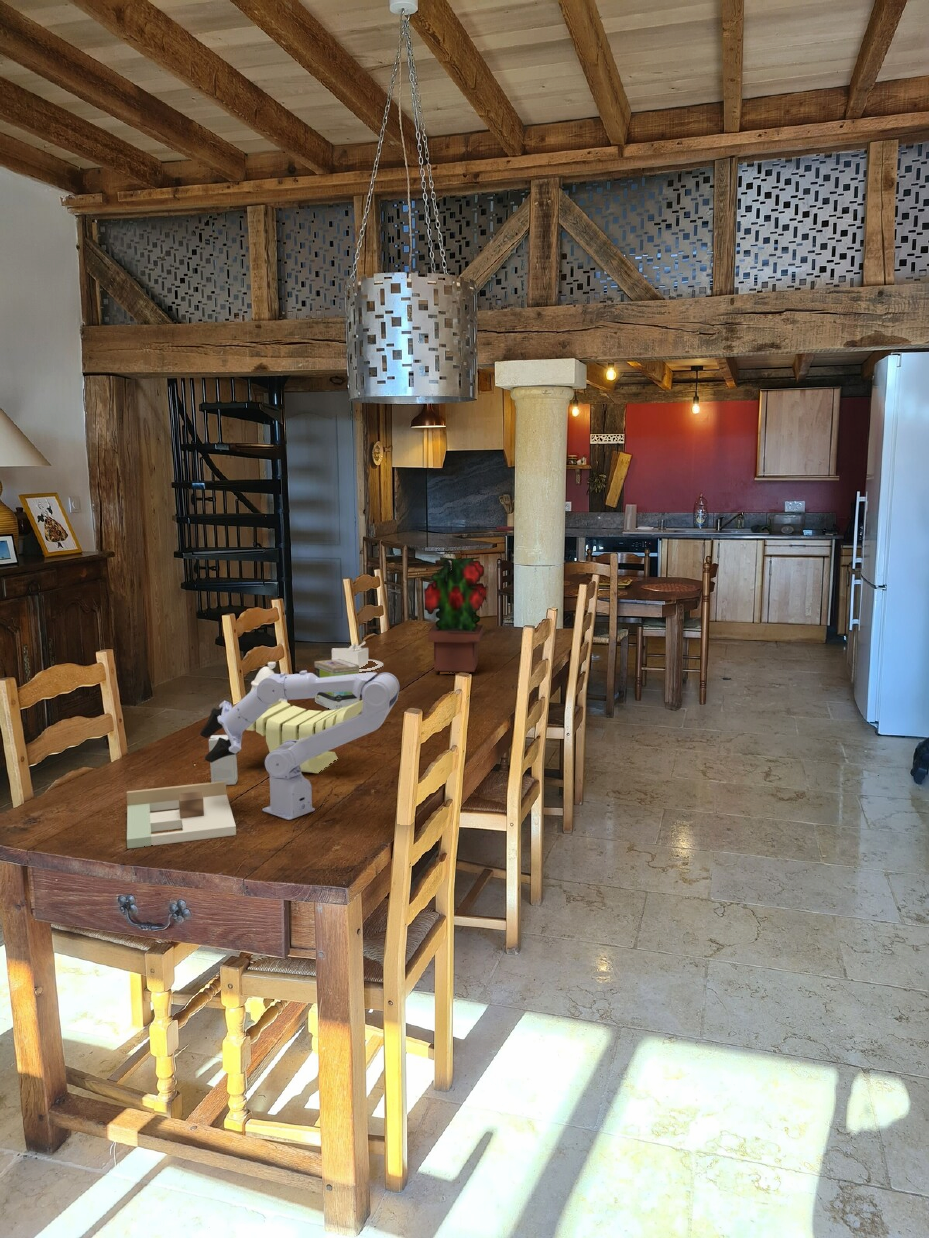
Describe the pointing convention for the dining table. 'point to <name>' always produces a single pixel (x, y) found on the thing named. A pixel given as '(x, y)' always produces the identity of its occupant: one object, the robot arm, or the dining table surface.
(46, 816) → the dining table surface
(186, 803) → the walnut block
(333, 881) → the dining table surface
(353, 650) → the white block with ring
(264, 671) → the honey pot
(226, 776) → the skincare box
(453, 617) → the potted plant
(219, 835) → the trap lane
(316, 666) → the tea box
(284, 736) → the slatted curved stool
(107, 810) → the dining table surface
